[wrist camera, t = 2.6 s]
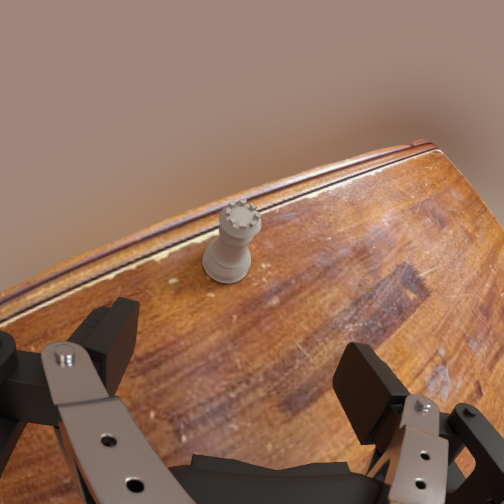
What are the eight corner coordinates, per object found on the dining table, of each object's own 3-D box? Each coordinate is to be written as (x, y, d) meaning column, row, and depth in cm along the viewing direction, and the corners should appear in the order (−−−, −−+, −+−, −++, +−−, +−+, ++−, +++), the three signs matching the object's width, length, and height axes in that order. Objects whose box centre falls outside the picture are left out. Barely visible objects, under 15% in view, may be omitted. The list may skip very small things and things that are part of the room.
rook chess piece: (232, 237, 31) (250, 182, 24) (257, 273, 30) (284, 224, 23) (192, 254, 29) (201, 200, 22) (217, 293, 28) (234, 247, 21)
